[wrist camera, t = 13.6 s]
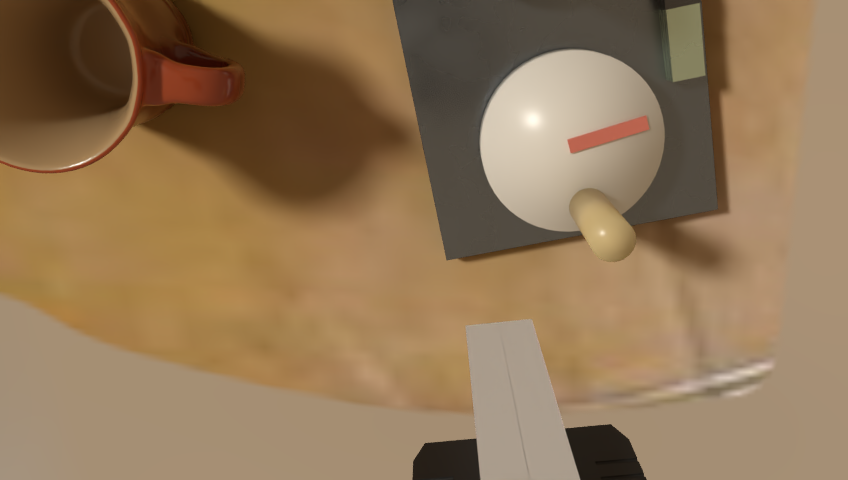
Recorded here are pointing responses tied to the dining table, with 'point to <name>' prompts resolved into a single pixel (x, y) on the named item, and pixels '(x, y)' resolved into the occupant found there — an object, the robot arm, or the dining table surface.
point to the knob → (574, 145)
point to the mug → (96, 77)
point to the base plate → (517, 43)
